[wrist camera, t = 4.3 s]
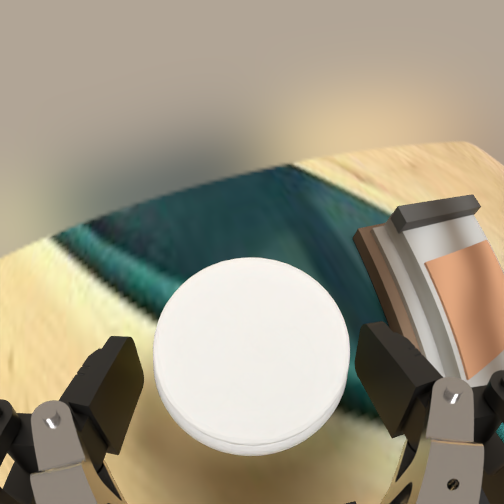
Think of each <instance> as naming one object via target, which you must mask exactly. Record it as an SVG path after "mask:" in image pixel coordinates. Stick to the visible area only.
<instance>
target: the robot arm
mask: <svg viewBox="0 0 504 504" xmlns="http://www.w3.org/2000/svg"><path fill="white" fill-rule="evenodd" d="M355 370H356V373H357V376H358V377H359V379H360V381H361V383H362V385H363V386H364V388H365V390H366V392H367V393H368V395H369V397H370V399H371V401H372V402H373V404H374V406H375V408H376V410H377V411H378V413H379V415H380V417H381V419H382V421H383V422H384V424H385V426H386V428H387V430H388V432H389V434H390V435H391V437H392V438H395V437H397V436H400V435H403V434H405V436H406V438H407V439H406V441H405V443H404V445H403V449H402V452H401V456H400V459H399V462H398V465H397V468H396V471H395V474H394V477H393V480H392V482H391V485H390V487H389V489H388V491H387V493H386V495H385V496H384V498H383V500H382V501H381V503H380V504H479V499H480V492H481V487H482V489H483V491H484V493H485V495H486V497H487V499H488V501H489V503H490V504H504V443H503V442H502V440H501V439H500V437H499V436H498V435H497V433H496V430H497V429H498V428H499V426H500V425H501V423H502V422H503V423H504V370H499V371H496V372H494V373H493V374H492V376H491V378H490V380H489V382H488V384H487V385H484V386H477V387H470V385H469V384H468V383H467V382H465V381H464V380H462V379H459V378H456V377H444V378H443V376H442V375H441V374H440V373H439V372H438V371H437V370H436V369H435V367H434V366H433V365H432V364H431V363H430V362H429V361H428V360H427V359H426V358H425V357H424V355H421V352H420V351H419V350H418V349H417V348H415V346H414V345H413V344H412V343H411V342H410V340H409V339H408V338H406V337H404V336H402V335H400V334H399V333H397V332H395V333H394V332H393V331H392V330H391V329H390V328H389V327H388V326H387V325H386V324H385V323H384V322H382V321H381V322H375V323H369V324H363V325H362V327H361V329H360V335H359V341H358V346H357V352H356V357H355ZM143 384H144V375H143V370H142V367H141V363H140V360H139V357H138V354H137V350H136V347H135V343H134V341H133V339H132V338H131V337H122V336H111V337H110V338H109V339H108V340H107V342H106V343H105V345H104V346H103V348H102V349H98V350H96V351H95V352H94V353H92V354H91V355H89V356H88V358H87V359H86V361H85V362H84V364H83V365H82V367H81V368H80V369H79V371H78V372H77V375H75V377H74V378H73V380H72V381H71V383H70V384H69V386H68V387H67V389H66V390H65V392H64V393H63V395H62V396H61V398H60V400H59V401H47V402H44V403H42V404H41V405H39V406H38V407H37V408H36V409H35V410H34V412H33V413H32V414H25V413H16V412H15V410H14V409H13V407H12V405H11V404H10V403H9V402H8V401H6V400H1V399H0V466H1V464H2V462H3V460H4V458H5V456H6V454H7V453H8V454H9V455H10V457H11V458H12V459H13V460H14V461H15V462H14V464H13V466H12V468H11V471H10V473H9V475H8V477H7V480H6V482H5V485H4V487H3V489H2V488H1V487H0V504H127V502H126V500H125V499H124V497H123V495H122V493H121V491H120V489H119V488H118V486H117V484H116V482H115V480H114V478H113V476H112V474H111V472H110V470H109V468H108V466H107V464H106V462H105V460H104V458H105V455H106V453H111V454H115V455H119V453H120V450H121V447H122V444H123V441H124V438H125V435H126V432H127V430H128V427H129V424H130V421H131V418H132V415H133V413H134V410H135V407H136V404H137V402H138V399H139V396H140V394H141V391H142V388H143ZM346 504H356V501H354V502H350V503H346Z"/></svg>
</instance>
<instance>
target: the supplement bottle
mask: <svg viewBox="0 0 504 504" xmlns="http://www.w3.org/2000/svg"><path fill="white" fill-rule="evenodd" d="M349 359H350V345H349V336H348V332H347V327H346V324H345V321H344V318H343V316H342V314H341V312H340V310H339V308H338V306H337V304H336V303H335V301H334V300H333V299H332V297H331V296H330V295H329V293H328V292H327V291H326V290H325V289H324V288H323V287H322V286H321V285H320V284H319V283H318V282H317V281H316V280H314V279H313V278H312V277H310V276H309V275H307V274H306V273H304V272H303V271H301V270H299V269H297V268H295V267H293V266H291V265H288V264H286V263H283V262H279V261H275V260H270V259H264V258H238V259H232V260H227V261H222V262H219V263H217V264H214V265H212V266H209V267H207V268H205V269H203V270H201V271H200V272H198V273H197V274H195V275H194V276H192V277H190V278H189V279H188V280H187V281H186V282H185V283H183V284H182V285H181V286H180V287H179V288H178V289H177V290H176V292H175V293H174V294H173V295H172V297H171V298H170V300H169V301H168V302H167V304H166V305H165V307H164V309H163V311H162V313H161V316H160V318H159V321H158V324H157V328H156V331H155V335H154V344H153V366H154V377H155V382H156V386H157V389H158V393H159V395H160V397H161V400H162V402H163V404H164V406H165V408H166V409H167V411H168V412H169V414H170V415H171V417H172V418H173V419H174V421H175V422H176V423H177V424H178V425H179V426H180V427H181V428H182V429H183V430H184V431H185V432H186V433H187V434H189V435H190V436H191V437H193V438H194V439H196V440H197V441H199V442H200V443H202V444H204V445H206V446H208V447H210V448H213V449H215V450H218V451H221V452H225V453H229V454H234V455H242V456H260V455H268V454H273V453H277V452H281V451H284V450H287V449H289V448H292V447H294V446H296V445H298V444H300V443H301V442H303V441H305V440H306V439H308V438H309V437H311V436H312V435H313V434H314V433H315V432H317V431H318V430H319V429H320V428H321V427H322V426H323V425H324V424H325V423H326V421H327V420H328V419H329V418H330V416H331V415H332V414H333V412H334V411H335V409H336V407H337V406H338V404H339V401H340V399H341V397H342V395H343V392H344V389H345V385H346V380H347V373H348V368H349Z"/></svg>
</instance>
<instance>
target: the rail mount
mask: <svg viewBox="0 0 504 504" xmlns="http://www.w3.org/2000/svg"><path fill="white" fill-rule="evenodd" d="M480 207H481V206H480V204H479V203H478V201H477V200H476V198H475V197H474V195H466V196H460V197H453V198H447V199H440V200H434V201H427V202H421V203H415V204H409V205H403V206H397V208H396V210H395V211H394V213H392V214H391V216H390V217H389V219H388V221H387V222H386V223H384V224H379V225H374V226H369V227H364V228H359V229H358V230H357V232H356V233H355V235H354V237H353V240H354V242H355V244H356V246H357V249H358V251H359V253H360V255H361V257H362V260H363V262H364V264H365V266H366V269H367V271H368V273H369V276H370V278H371V281H372V283H373V285H374V288H375V290H376V293H377V295H378V298H379V300H380V303H381V305H382V308H383V311H384V313H385V316H386V318H387V321H388V324H389V327H390V329H391V330H392V331H393V332H394V333H395V332H397V333H399V334H400V335H402V336H404V337H406V338H408V339H409V340H410V342H411V343H412V344H413V345H414V346H415V348H417V349H418V350H419V351H420V352H421V355H424V357H425V358H426V359H427V360H428V361H429V362H430V363H431V364H432V365H433V366H434V367H435V369H436V370H437V371H438V372H439V373H440V374H441V375H442V376H443V378H444V377H456V378H459V379H462V380H464V381H465V382H467V383H468V384H469V385H470V387H477V386H484V385H487V384H488V382H489V380H490V378H491V376H492V374H493V373H494V372H496V371H499V370H504V272H503V270H502V268H501V265H500V263H499V261H498V259H497V257H496V255H495V253H494V251H493V249H492V247H491V245H490V243H489V241H488V239H487V237H486V236H485V234H484V232H483V230H482V228H481V227H480V225H479V223H478V221H477V220H476V218H475V216H474V214H475V213H476V212H477V211H478V210H479V208H480Z"/></svg>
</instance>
